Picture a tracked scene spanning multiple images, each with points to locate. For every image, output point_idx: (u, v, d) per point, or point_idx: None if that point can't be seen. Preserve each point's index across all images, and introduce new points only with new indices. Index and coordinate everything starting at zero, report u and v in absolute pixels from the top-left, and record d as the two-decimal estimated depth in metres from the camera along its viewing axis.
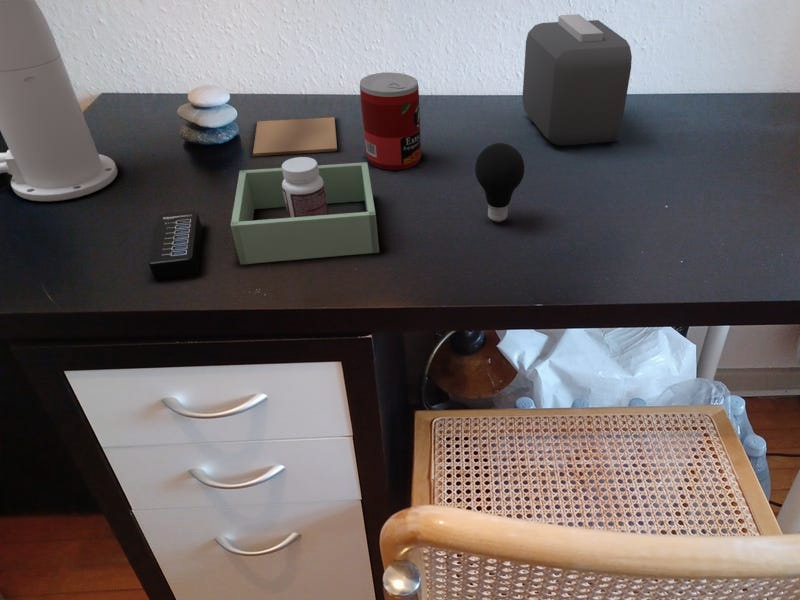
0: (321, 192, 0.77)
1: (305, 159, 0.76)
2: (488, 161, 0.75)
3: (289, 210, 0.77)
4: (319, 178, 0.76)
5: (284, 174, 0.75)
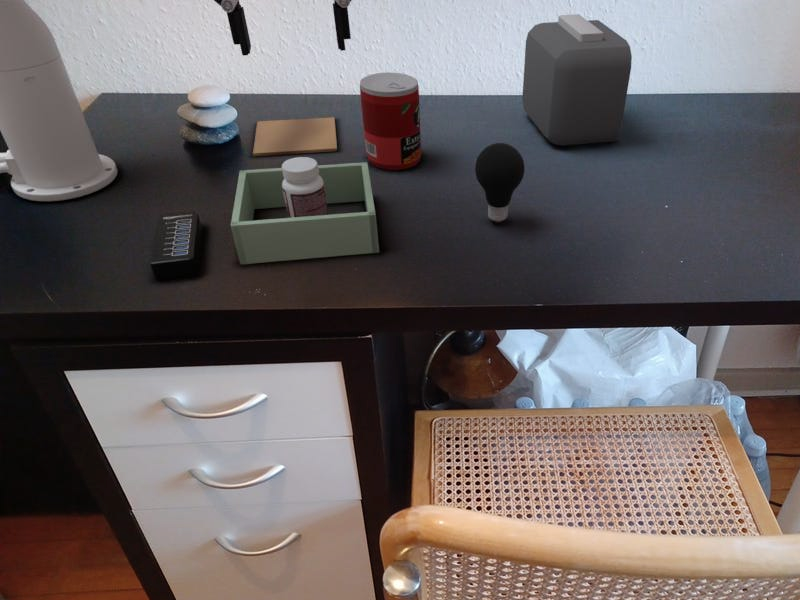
0: (321, 192, 0.77)
1: (305, 159, 0.76)
2: (488, 161, 0.75)
3: (289, 210, 0.77)
4: (319, 178, 0.76)
5: (284, 174, 0.75)
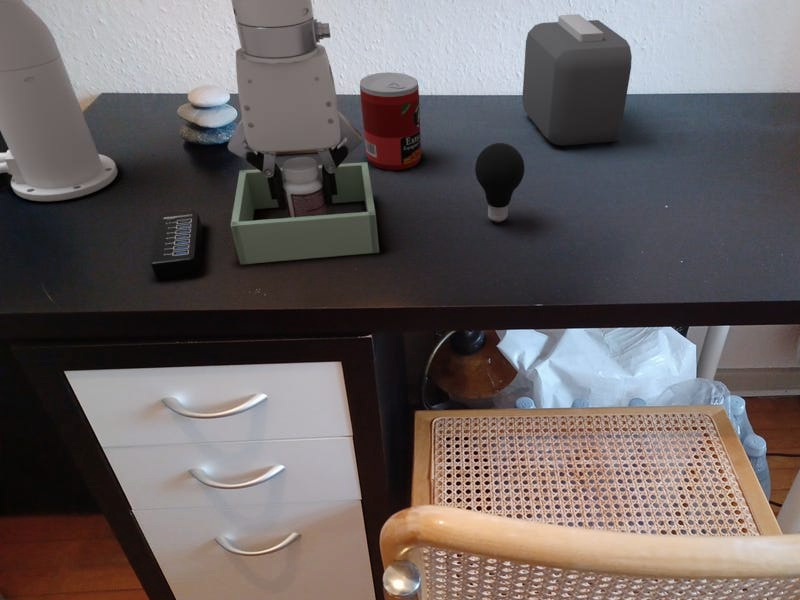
0: (322, 192, 0.77)
1: (306, 159, 0.76)
2: (488, 161, 0.75)
3: (289, 210, 0.77)
4: (319, 178, 0.76)
5: (284, 174, 0.75)
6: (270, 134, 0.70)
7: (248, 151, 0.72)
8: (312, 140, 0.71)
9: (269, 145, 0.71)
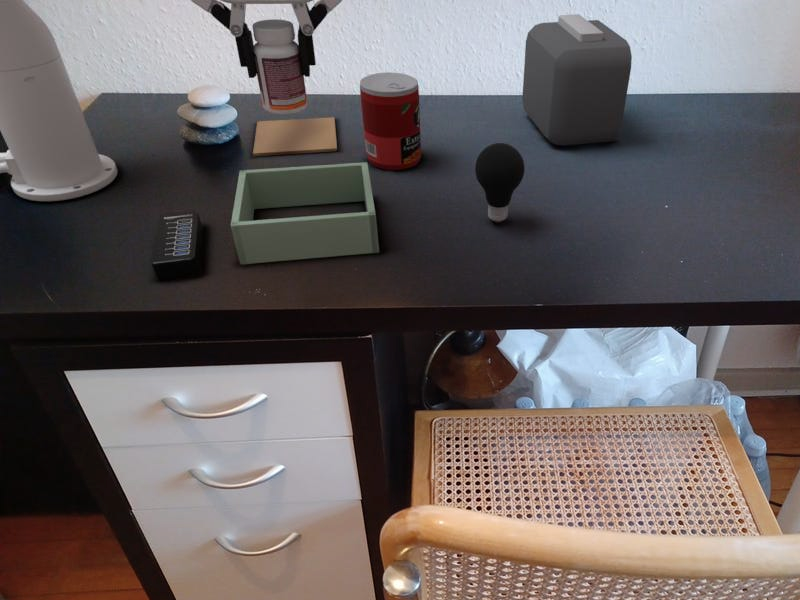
0: (297, 60, 0.68)
1: (280, 21, 0.67)
2: (488, 161, 0.75)
3: (261, 80, 0.69)
4: (295, 44, 0.68)
5: (255, 34, 0.66)
6: None
7: (213, 3, 0.64)
8: None
9: None
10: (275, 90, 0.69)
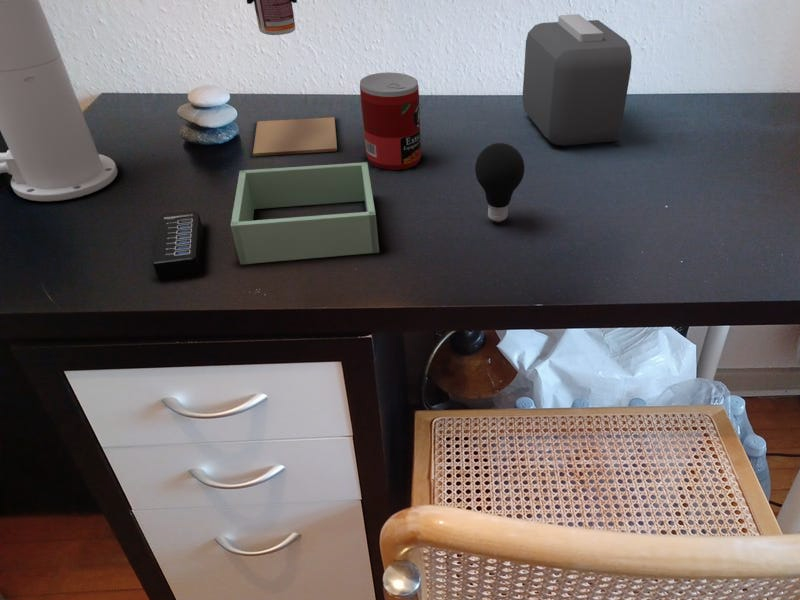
0: None
1: None
2: (488, 161, 0.75)
3: (257, 5, 0.84)
4: None
5: None
6: None
7: None
8: None
9: None
10: (268, 13, 0.84)
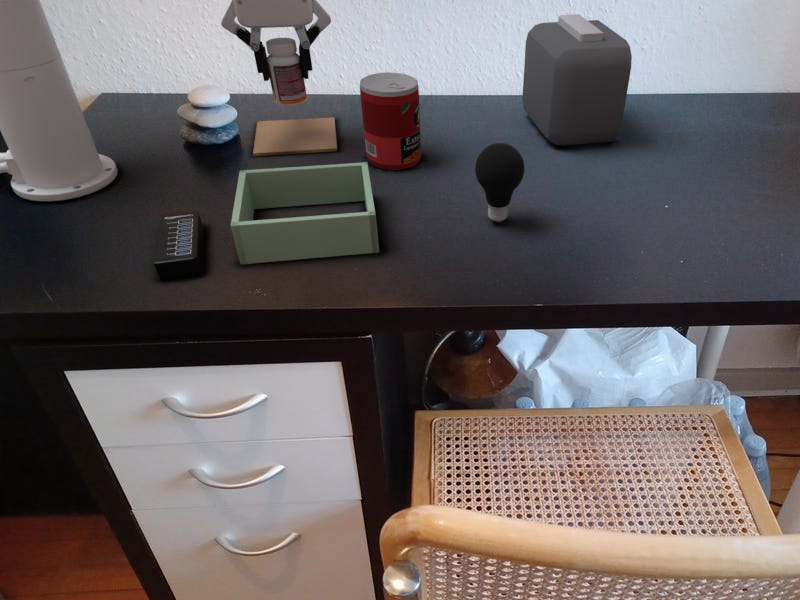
0: (299, 66, 0.93)
1: (286, 38, 0.93)
2: (488, 161, 0.75)
3: (272, 82, 0.94)
4: (297, 55, 0.93)
5: (268, 49, 0.91)
6: (255, 10, 0.87)
7: (238, 28, 0.89)
8: (289, 17, 0.88)
9: (254, 21, 0.88)
10: (283, 89, 0.94)
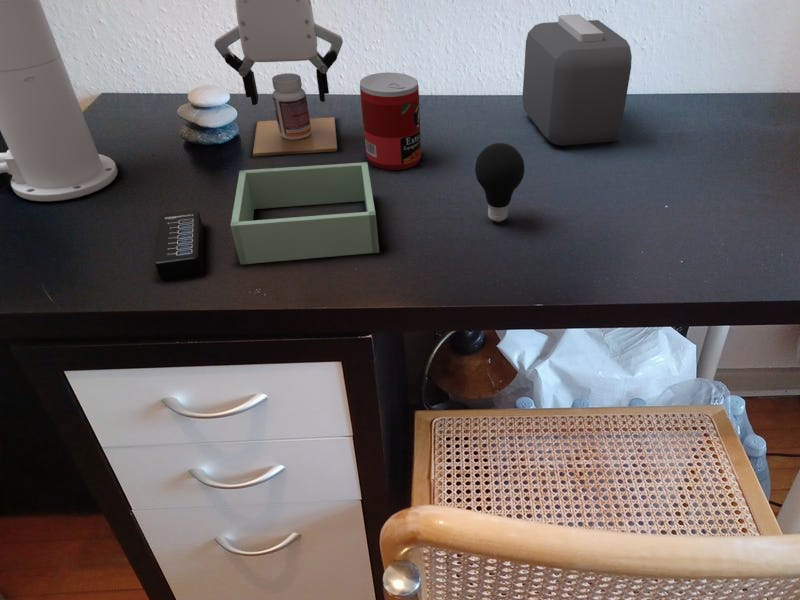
0: (304, 101, 0.96)
1: (291, 74, 0.96)
2: (488, 161, 0.75)
3: (278, 116, 0.97)
4: (302, 90, 0.96)
5: (274, 85, 0.94)
6: (261, 46, 0.90)
7: (229, 53, 0.91)
8: (294, 52, 0.91)
9: (260, 56, 0.90)
10: (288, 123, 0.97)
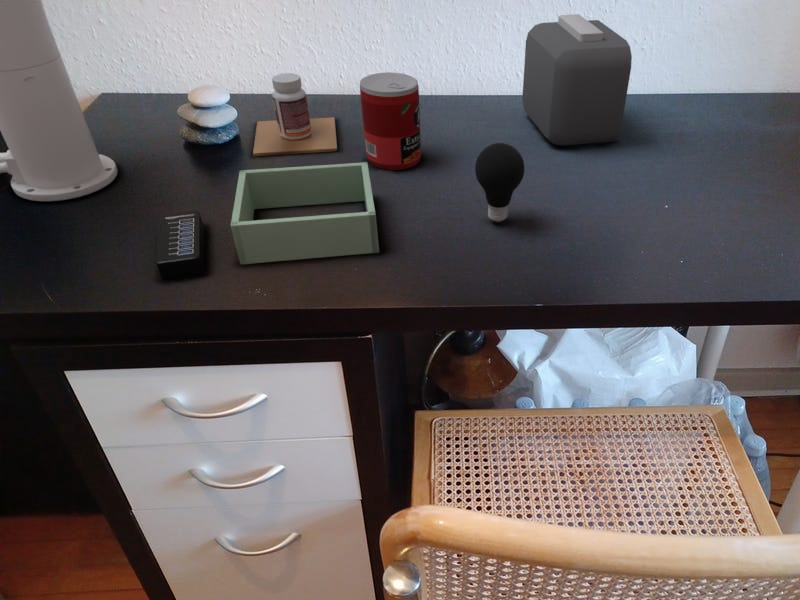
0: (304, 101, 0.96)
1: (291, 74, 0.96)
2: (488, 161, 0.75)
3: (278, 116, 0.97)
4: (302, 90, 0.96)
5: (274, 85, 0.94)
6: None
7: None
8: None
9: None
10: (288, 123, 0.97)
